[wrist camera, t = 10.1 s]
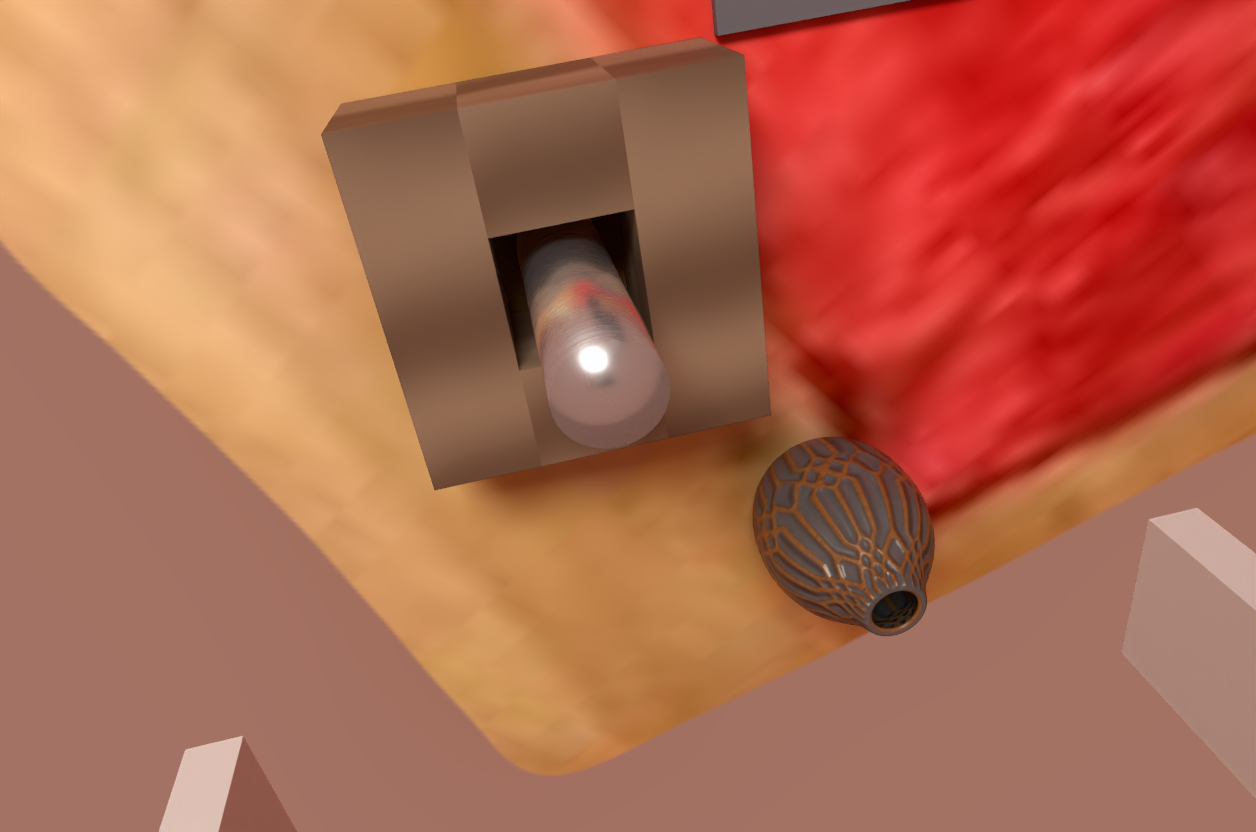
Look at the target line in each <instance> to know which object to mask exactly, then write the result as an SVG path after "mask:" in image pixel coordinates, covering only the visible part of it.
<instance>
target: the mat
mask: <svg viewBox="0 0 1256 832" xmlns="http://www.w3.org/2000/svg"><path fill="white" fill-rule="evenodd" d="M904 1H909V0H712V9H713V20H714V31H715V35H717V36H720V35H726V34H731V33H736V32H742V31H747V30H753V29H758V28H763V27H769V26H774V25H780V24H785V23H790V22H796V21H801V20H807V19H812V18H817V17H823V16H828V15H833V14H839V13H844V12H850V11H855V10H860V9H866V8H871V7H877V6H882V5H887V4H893V3H898V2H904Z"/></svg>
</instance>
